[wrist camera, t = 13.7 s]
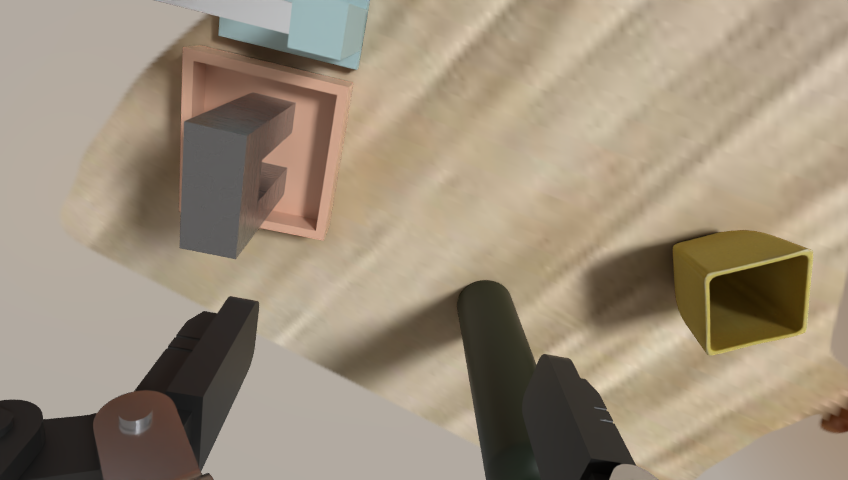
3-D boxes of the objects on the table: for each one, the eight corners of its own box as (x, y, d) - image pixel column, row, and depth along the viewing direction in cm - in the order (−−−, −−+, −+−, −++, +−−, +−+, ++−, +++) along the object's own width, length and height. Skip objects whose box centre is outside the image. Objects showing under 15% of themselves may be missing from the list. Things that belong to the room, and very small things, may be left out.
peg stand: (188, -60, 35) (74, -104, 23) (371, -11, 37) (353, -28, 25) (185, 25, 37) (82, 25, 26) (358, 68, 39) (336, 87, 27)
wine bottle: (504, 328, 51) (615, 682, 23) (452, 323, 50) (503, 678, 23) (516, 283, 48) (655, 617, 21) (462, 276, 48) (532, 610, 20)
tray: (200, 45, 38) (182, 46, 35) (353, 82, 39) (348, 87, 36) (194, 198, 43) (178, 211, 40) (329, 226, 45) (323, 240, 42)
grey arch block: (252, 92, 39) (184, 121, 27) (295, 102, 39) (247, 135, 27) (244, 185, 42) (179, 248, 30) (283, 194, 43) (235, 259, 31)
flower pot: (743, 208, 45) (816, 248, 37) (741, 283, 49) (808, 334, 41) (652, 231, 46) (704, 275, 38) (657, 303, 50) (706, 357, 42)
